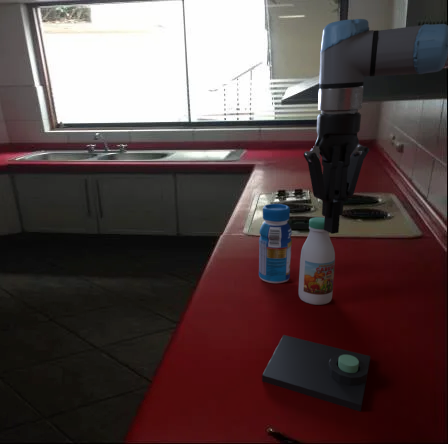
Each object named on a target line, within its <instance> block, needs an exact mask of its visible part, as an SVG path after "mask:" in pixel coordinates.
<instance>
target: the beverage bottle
mask: <svg viewBox="0 0 448 444" xmlns="http://www.w3.org/2000/svg"><path fill="white" fill-rule="evenodd" d="M290 217H291V207H290V206H288V205H286V204H284V203H269V204H265V205H264V206H263V207H262V220H263V223H262V224H261V226H260V228H259V231H258V232H259V235H260V236H259V238H258V247H259V248H258V249H259V250H258V252H259V253H258V277H259V279H260V280H261V281H263V282H266V283H269V284H283V283H286V282H288V281H289V280H290V278H291V260H292V259H291V257H292V247H293V246H292V245H293V239H292V238H291V237H292V234H293V230H292V227H291V225H290V223H289V220H290Z"/></svg>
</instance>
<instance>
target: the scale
mask: <svg viewBox="0 0 448 444" xmlns="http://www.w3.org/2000/svg"><path fill="white" fill-rule="evenodd" d="M341 355H351V356H354V357H355V358H357V359H358V361H359V367H358V371H357V372H356V373H348V372H344V371H342V370H341V369H339V367H338V361H339V357H340V356H341ZM371 357H372V356H371V355H367V354H363V353H359V352H355V351H350V350H346V349H343V348H338V347H334V346H330V345H327V344H322V343H319V342H314V341H310V340H305V339H302V338H297V337H293V336H290V335H285V334H283V335H282V337H281V339H280V340H279V342H278V345H277V346H276V348H275V350H274V352H273V354H272V355H271V358H270V360H269V361H268V363H267V365H266V367H265V369H264V371H263V373H262V374H261V382H263V383H266V384H269V385H273V386H276V387H280V388H282V389H286V390H289V391H292V392H295V393H298V394H302V395H305V396H307V397H312V398H314V399H317V400H322V401H324V402H328V403H330V404H334V405H338V406H340V407H344V408H346V409H347V408H348V409H350V410H354V411H357V412H362V408H363V402H364V397H365V392H366V385H367V380H368V374H369V369H370V363H371Z"/></svg>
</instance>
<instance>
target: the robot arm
mask: <svg viewBox="0 0 448 444" xmlns="http://www.w3.org/2000/svg"><path fill="white" fill-rule="evenodd" d="M319 53H320V56H319V57H320V58H319V80H318V81H319V83H318V84H319V86H318V102H317V103H318V105H317V110H318V111H319V112H320V113H318V115H317V120H316V133H317V139H316V141H315V144H314V146H313V148H311V149H310V150H309V151H308V150H305V151H304V153H303V158H304V159H305V161H306V162H307V164H308V166H307V167H308V171H309V178H310V182H311V189H312V194H313V197H314V198H316V199H319V200H321V201H322V203H321V215H322V217H324V218H325V219H324V230H325V231H327V232H329V234H331V235H333V234H339V232H340V218H341V217H340V216H342V215H343V213H344V203H345V202H347V201H348V200H349V198H348V197H353V196H354V194H355V191H356V187H357V184H358V180H359V177H360V174H361V170H362V166H363V163H364V160H365V158H366V156H367V155H368V153H369V151H370V148H369V147H368V146H363V145H362V144H361V143H359V142H360V139H359V137H358V133H359V132H360V130H361V119H362V114H361V112H359V111H360V110H361V109H362V108H363V100H364V99H363V98H364V86H365V85H364V83H365V82H364V80H365V77H366V78H367V77H380V76H381V77H382V76H405V75H425V74H429V73H430V74H431V73H438V72H440V71H442V70H443V69H448V24H446V23H437V24H436V23H435V24H433V23H432V24H429V23H424V24H422V25H414V26H413V25H412V26H403V27H397V28H388V29H381V30H380V29H379V30H378V29H377V30H376V29H375V30H374V29H371V30H370V27H369V21H368V19H365V18H355V19H354V18H353V19H343V20H337V21H332V22H329V23H328V24H326V25H325V26H324V28H323V30H322V37H321V47H320V52H319ZM320 159H321V160H320Z"/></svg>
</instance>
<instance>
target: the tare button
mask: <svg viewBox="0 0 448 444" xmlns="http://www.w3.org/2000/svg"><path fill="white" fill-rule="evenodd" d="M338 367H339V369H341V370H342V371H344V372H348V373H356V372H357V371H358V367H359V361H358V359H357V358H355V357H354V356H351V355H341V356H340V357H339V361H338Z"/></svg>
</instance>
